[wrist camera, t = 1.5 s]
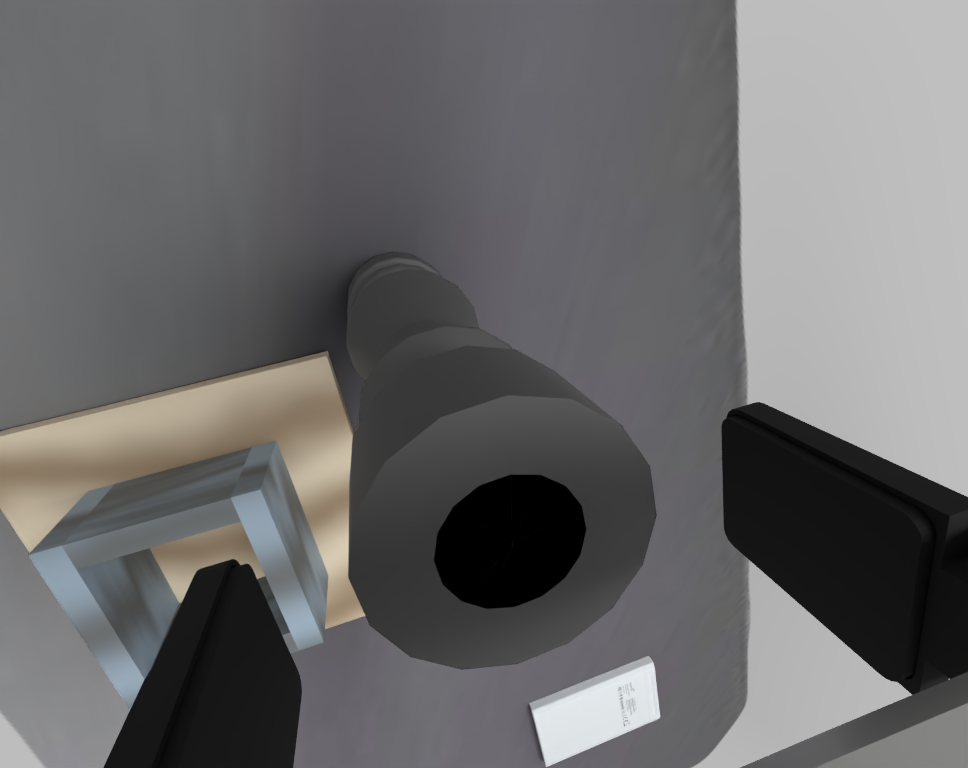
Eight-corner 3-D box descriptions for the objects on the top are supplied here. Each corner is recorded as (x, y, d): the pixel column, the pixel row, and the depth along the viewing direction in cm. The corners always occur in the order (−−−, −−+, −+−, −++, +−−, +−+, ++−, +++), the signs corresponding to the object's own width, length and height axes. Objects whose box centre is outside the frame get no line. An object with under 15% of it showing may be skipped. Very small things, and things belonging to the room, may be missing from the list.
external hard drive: (526, 697, 47) (645, 650, 49) (540, 752, 50) (652, 706, 52) (532, 713, 46) (655, 664, 48) (546, 769, 49) (661, 721, 51)
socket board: (-26, 437, 29) (-139, 506, 22) (327, 350, 32) (321, 388, 25) (130, 681, 36) (80, 787, 29) (404, 591, 39) (414, 668, 32)
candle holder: (378, 365, 33) (437, 730, 10) (327, 280, 30) (248, 503, 7) (461, 321, 33) (703, 574, 10) (417, 233, 31) (607, 309, 8)
